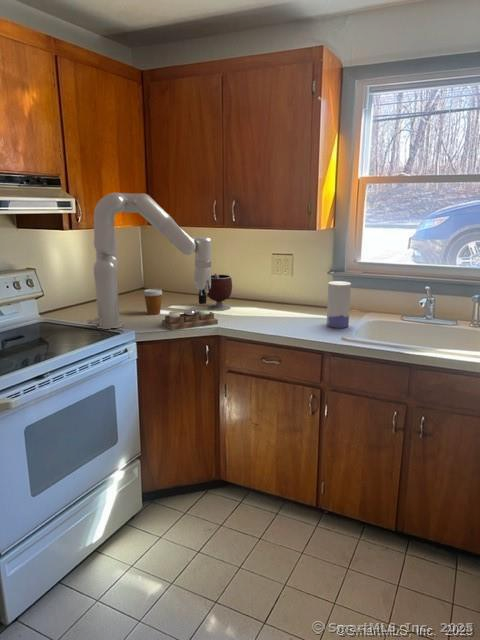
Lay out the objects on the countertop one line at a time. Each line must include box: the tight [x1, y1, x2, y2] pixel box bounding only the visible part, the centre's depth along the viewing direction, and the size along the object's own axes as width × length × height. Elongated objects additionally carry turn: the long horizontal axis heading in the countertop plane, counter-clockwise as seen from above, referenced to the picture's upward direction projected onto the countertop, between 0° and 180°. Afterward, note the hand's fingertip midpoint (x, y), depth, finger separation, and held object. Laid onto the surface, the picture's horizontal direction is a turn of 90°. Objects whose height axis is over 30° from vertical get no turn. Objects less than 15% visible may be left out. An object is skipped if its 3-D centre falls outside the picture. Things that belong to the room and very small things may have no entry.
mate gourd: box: [206, 273, 233, 312], centre depth 250 cm, size 16×14×20 cm
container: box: [326, 280, 352, 329], centre depth 217 cm, size 10×10×20 cm
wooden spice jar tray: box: [161, 311, 219, 331], centre depth 221 cm, size 23×12×4 cm, turn 119°
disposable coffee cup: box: [142, 288, 163, 316], centre depth 240 cm, size 10×10×12 cm
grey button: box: [183, 309, 196, 317], centre depth 220 cm, size 5×5×2 cm
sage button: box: [198, 310, 211, 315], centre depth 224 cm, size 5×5×2 cm
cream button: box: [168, 310, 181, 319], centre depth 217 cm, size 5×5×2 cm
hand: (202, 303), depth 222 cm, fingers closed
